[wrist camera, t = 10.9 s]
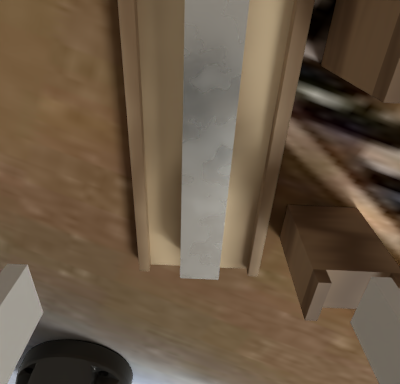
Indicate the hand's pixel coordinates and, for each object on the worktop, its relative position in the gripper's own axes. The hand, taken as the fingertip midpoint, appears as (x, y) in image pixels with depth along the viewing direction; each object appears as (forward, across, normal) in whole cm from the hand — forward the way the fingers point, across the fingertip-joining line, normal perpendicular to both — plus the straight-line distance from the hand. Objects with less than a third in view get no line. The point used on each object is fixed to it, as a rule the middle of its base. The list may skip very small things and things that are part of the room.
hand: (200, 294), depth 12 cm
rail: (+15, 0, 0) cm, 15 cm away
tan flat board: (+15, 0, 0) cm, 15 cm away
